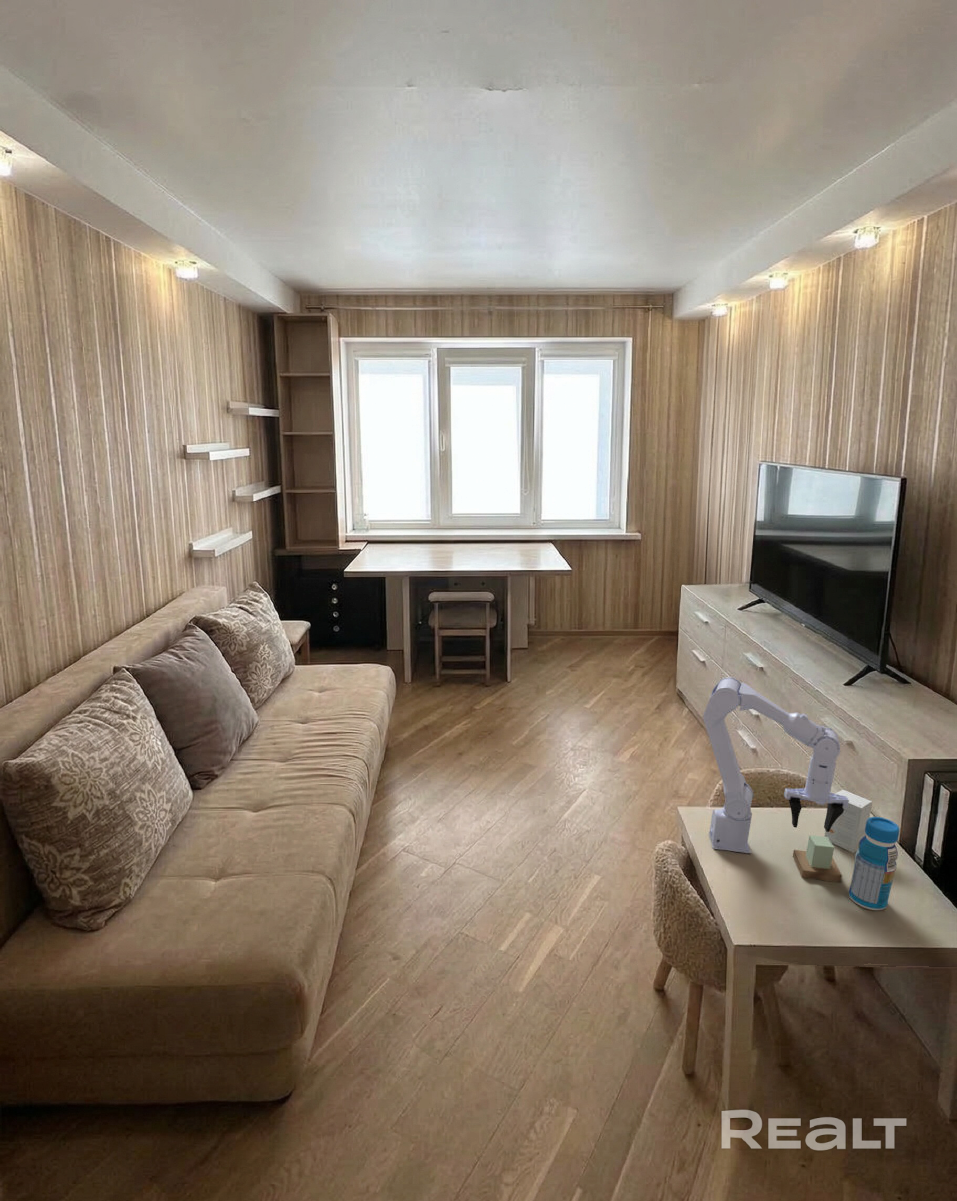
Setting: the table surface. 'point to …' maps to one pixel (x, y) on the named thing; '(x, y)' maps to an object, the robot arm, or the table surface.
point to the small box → (850, 822)
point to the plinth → (816, 869)
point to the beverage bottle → (875, 864)
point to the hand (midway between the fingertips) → (810, 827)
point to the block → (819, 852)
